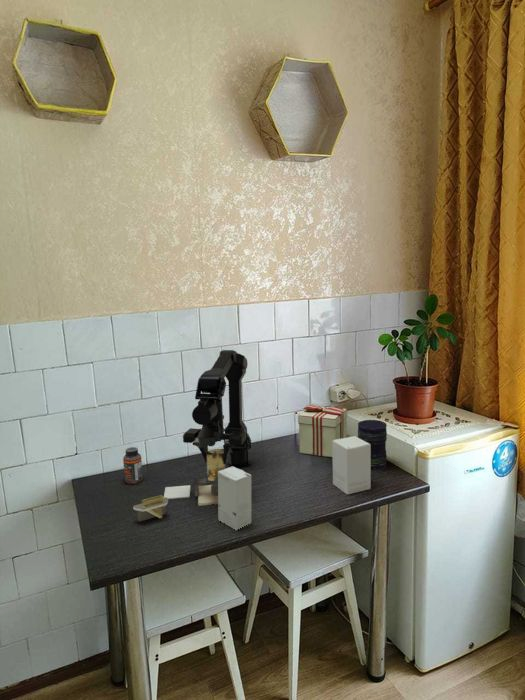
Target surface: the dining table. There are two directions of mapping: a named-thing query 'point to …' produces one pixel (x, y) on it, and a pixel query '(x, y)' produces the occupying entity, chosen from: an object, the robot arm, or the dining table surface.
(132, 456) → the supplement bottle
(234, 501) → the skincare box
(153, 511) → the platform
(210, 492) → the cream slotted block
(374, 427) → the storage jar
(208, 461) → the brass bell
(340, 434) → the gift box
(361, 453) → the supplement box
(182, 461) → the dining table surface
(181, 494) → the grey mat
